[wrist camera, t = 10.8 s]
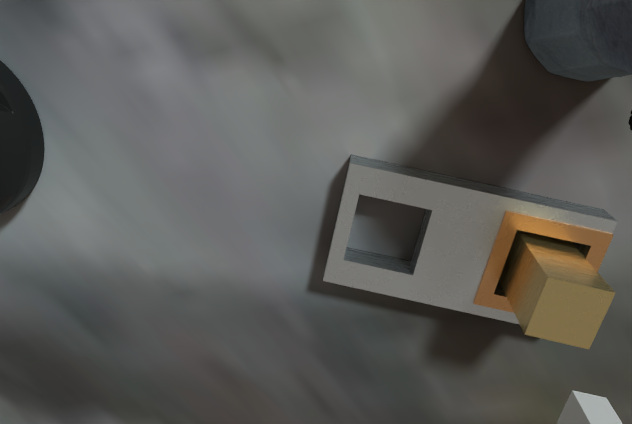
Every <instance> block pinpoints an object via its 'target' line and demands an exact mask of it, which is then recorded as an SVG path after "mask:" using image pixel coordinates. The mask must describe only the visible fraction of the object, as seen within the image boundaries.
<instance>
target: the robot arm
mask: <svg viewBox="0 0 632 424" xmlns="http://www.w3.org/2000/svg"><path fill="white" fill-rule="evenodd" d="M43 158H44V138H43V131H42V127H41V123H40V119H39V116H38V113H37V111H36V108H35V106H34V104H33V102H32V100H31V98H30V96H29V94H28V93H27V91H26V89H25V88H24V86H23V85H22V84H21V82H20V81H19V80H18V78H17V77H16V76H15V75H14V74H13V72H12V71H11V70H10V69H9V68H8V67H7V66H6V65H5V64H4V63H3V62H1V61H0V214H2V213H3V212H5V211H7V210H9V209H11V208H12V207H14V206H16V205H17V204H18V203H20V202H21V201H22V200H23V199H24V198H25V197H26V196H27V195H28V194H29V193H30V192H31V190H32V189H33V187H34V186H35V184H36V182H37V180H38V178H39V175H40V172H41V169H42V164H43ZM557 424H622V422H621V421H620V419H619V417H618V416H617V414H616V413H615V411H614V409H613V408H612V406H611V405H610V403H609V401H608V400H607V398H605V397H600V396H595V395H591V394H586V393H582V392H577V391H573V390H572V392H571V394H570V396H569V398H568V400H567V403H566V405H565V407H564V409H563V411H562V413H561V415H560V417H559V420H558V422H557Z"/></svg>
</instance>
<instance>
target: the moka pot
mask: <svg viewBox="0 0 632 424" xmlns="http://www.w3.org/2000/svg"><path fill="white" fill-rule="evenodd" d="M524 34H525V41H526V43H527V45H528V47H529V48H530V50H531V52H532V53H533V55H534V56H535V57H536V58H537V60H538V61H539V62H540V63H541V64H542V65H543V66H544V67H545V69H546V70H547V71H548V72H550V73H552V74H556V75H560V76H563V77H567V78H571V79H576V80H581V81H583V82H587V81H596V80H601V79H607V78H613V77H622V76H626V75H631V74H632V0H526V2H525V14H524ZM631 114H632V111H631ZM629 125H630V129H631V130H632V116H631V117H630V119H629Z"/></svg>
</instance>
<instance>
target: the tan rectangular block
mask: <svg viewBox="0 0 632 424" xmlns="http://www.w3.org/2000/svg"><path fill="white" fill-rule="evenodd" d="M499 282H500V284H501V286H502V289H503V291H504V293H505V295H506V297H507V299H508V301H509V303H510V305H511V307H512V309H513V311H514V314H515V316H516V318H517V320H518V322H519V324H520V326H521V328H522V330H523V332H524V334H525V335H529V336H533V337H538V338H542V339H546V340H551V341H555V342H559V343H564V344H568V345H573V346H577V347H581V348H586V349H589V348H590V346H591V344H592V342H593V340H594V338H595V336H596V333H597V331H598V329H599V327H600V325H601V323H602V321H603V319H604V316H605V314H606V312H607V310H608V308H609V306H610V304H611V302H612V299H613V297H614V295H615V292H614V290H613V289H612V288H611V287H610V286H609V285H608V284H607V282H606V281H605V280H604V279H603V278H602V277H601V276H600V274H599V273H598V272H597V271H596V270H595V269H594V267H593V266H592V265H591V264H590V263H589V262H588V261H587V259H586V258H585V257H584V256H583V255H582V254H581V253H580V251H579V250H578V249H577V248H576V247H575V246H574V245H573V243H572V242H571V241H567V240H562V239H558V238H553V237H548V236H544V235H539V234H535V233H530V232H526V231H521V230H517V231H516V234H515V237H514V240H513V242H512V245H511V248H510V251H509V253H508V256H507V259H506V262H505V264H504V267H503V270H502V273H501V275H500V278H499Z"/></svg>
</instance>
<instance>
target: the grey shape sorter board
mask: <svg viewBox="0 0 632 424" xmlns="http://www.w3.org/2000/svg"><path fill="white" fill-rule="evenodd" d="M359 194H360V195H365V196H370V197H374V198H379V199H383V200H388V201H392V202H397V203H402V204H406V205H411V206H415V207H420V208H424V209H426V211H425V215H424V218H423V221H422V225H421V228H420V232H419V235H418V238H417V242H416V245H415V249H414V252H413V256H412V259H411V261H406V260H402V259H397V258H393V257H388V256H383V255H379V254H374V253H370V252H365V251H361V250H356V249H352V248H347V243H348V239H349V235H350V231H351V226H352V222H353V218H354V214H355V210H356V206H357V202H358V198H359ZM617 222H618V221H617V220H615V219H614V218H613V217H612V216H611V215H610V214H608V213H607V212H606V211H605V210H603V209H599V208H594V207H589V206H585V205H580V204H576V203H571V202H567V201H562V200H557V199H553V198H548V197H544V196H539V195H534V194H530V193H525V192H521V191H516V190H511V189H507V188H502V187H498V186H493V185H488V184H484V183H479V182H475V181H470V180H466V179H461V178H456V177H452V176H447V175H443V174H438V173H433V172H429V171H424V170H420V169H415V168H410V167H406V166H401V165H397V164H392V163H387V162H383V161H378V160H374V159H369V158H364V157H360V156H355V155H351V157H350V161H349V166H348V170H347V174H346V179H345V183H344V187H343V192H342V196H341V201H340V205H339V209H338V214H337V218H336V222H335V227H334V231H333V235H332V240H331V244H330V248H329V253H328V257H327V261H326V266H325V271H324V277H323V281H326V282H330V283H335V284H339V285H344V286H348V287H353V288H357V289H362V290H366V291H371V292H375V293H380V294H384V295H389V296H393V297H398V298H402V299H407V300H411V301H416V302H421V303H425V304H430V305H434V306H439V307H443V308H448V309H452V310H457V311H461V312H466V313H470V314H475V315H479V316H484V317H488V318H493V319H497V320H502V321H506V322H511V323H515V324H519V322H518V320H517V318H516V316H515V314H514V311H513V309H512V307H511V305H510V303H509V301H508V299H507V297H506V295H505V293H504V291H503V289H502V286H501V284H500V282H499V278H500V275H501V273H502V270H503V267H504V264H505V262H506V259H507V256H508V253H509V251H510V248H511V245H512V242H513V240H514V237H515V234H516V231H517V230H521V231H526V232H530V233H535V234H539V235H544V236H548V237H553V238H558V239H562V240H567V241H571V242H574V243H573V245H574V246H575V247H576V248H577V249H578V250H579V251H580V253H581V254H582V255H583V256H584V257H585V258H586V259H587V261H588V262H589V263H590V264H591V265H592V266H593V267H594V269H595V270H596V271H597V272H598V269H599V267H600V265H601V262H602V260H603V258H604V256H605V253H606V251H607V249H608V246H609V244H610V242H611V240H612V237H613V231H614V229H615V227H616V225H617Z"/></svg>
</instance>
